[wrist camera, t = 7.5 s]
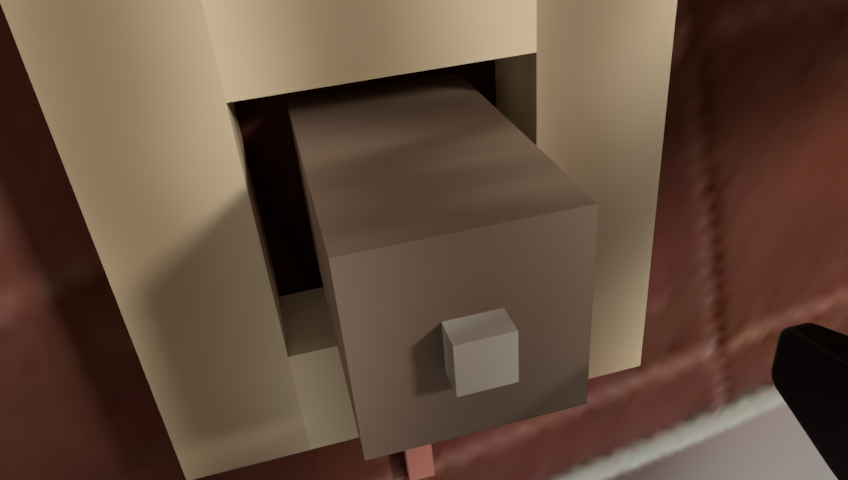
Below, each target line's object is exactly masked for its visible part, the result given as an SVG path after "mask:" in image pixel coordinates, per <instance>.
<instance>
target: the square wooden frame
mask: <svg viewBox="0 0 848 480" xmlns="http://www.w3.org/2000/svg"><path fill="white" fill-rule="evenodd" d="M0 4H1V6H2V9H3V11H4V14H5V16H6V19H7V22H8V24H9V27H10V29H11V32H12V34H13V37H14V40H15V42H16V45H17V47H18V50H19V52H20V55H21V57H22V60H23V63H24V65H25V68H26V70H27V73H28V75H29V78H30V81H31V83H32V86H33V88H34V91H35V93H36V96H37V98H38V101H39V104H40V106H41V109H42V111H43V114H44V116H45V119H46V122H47V124H48V127H49V129H50V132H51V134H52V137H53V139H54V142H55V145H56V147H57V150H58V152H59V155H60V157H61V160H62V163H63V165H64V168H65V170H66V173H67V175H68V178H69V181H70V183H71V186H72V188H73V191H74V193H75V196H76V198H77V201H78V204H79V206H80V209H81V211H82V214H83V216H84V219H85V222H86V224H87V227H88V229H89V232H90V234H91V237H92V239H93V242H94V245H95V247H96V250H97V252H98V255H99V257H100V260H101V263H102V265H103V268H104V270H105V273H106V275H107V278H108V281H109V283H110V286H111V288H112V291H113V293H114V296H115V298H116V301H117V304H118V306H119V309H120V311H121V314H122V316H123V319H124V322H125V324H126V327H127V329H128V332H129V334H130V337H131V339H132V342H133V345H134V347H135V350H136V352H137V355H138V357H139V360H140V363H141V365H142V368H143V370H144V373H145V375H146V378H147V381H148V383H149V386H150V388H151V391H152V393H153V396H154V398H155V401H156V404H157V406H158V409H159V411H160V414H161V416H162V419H163V422H164V424H165V427H166V429H167V432H168V434H169V437H170V439H171V442H172V445H173V447H174V450H175V452H176V455H177V457H178V460H179V463H180V465H181V468H182V470H183V473H184V475H185V478H186V480H194V479H198V478H202V477H206V476H210V475H213V474H217V473H221V472H225V471H229V470H233V469H237V468H241V467H245V466H249V465H253V464H257V463H260V462H264V461H268V460H272V459H276V458H280V457H284V456H288V455H292V454H296V453H300V452H304V451H308V450H311V449H315V448H319V447H323V446H327V445H331V444H335V443H339V442H343V441H347V440H351V439H355V438H359V434H358V430H357V426H356V422H355V418H354V413H353V409H352V405H351V401H350V397H349V393H348V388H347V384H346V380H345V376H344V372H343V367H342V363H341V359H340V355H339V351H338V346H337V342H336V338H335V334H334V330H333V326H332V321H331V317H330V313H329V309H328V305H327V300H326V296H325V292H324V288H323V287H321V288H316V289H312V290H307V291H302V292H298V293H293V294H288V295H284V296H280V295H279V291H278V287H277V282H276V278H275V274H274V270H273V266H272V261H271V257H270V253H269V249H268V244H267V240H266V236H265V232H264V228H263V223H262V219H261V215H260V211H259V207H258V202H257V198H256V194H255V190H254V185H253V181H252V177H251V173H250V169H249V164H248V160H247V156H246V152H245V148H244V143H243V139H242V135H241V131H240V127H239V122H238V118H237V114H236V110H235V105H234V102H235V101H242V100H248V99H254V98H260V97H266V96H272V95H278V94H285V93H291V92H297V91H303V90H309V89H315V88H321V87H328V86H334V85H340V84H346V83H352V82H358V81H364V80H370V79H377V78H383V77H389V76H395V75H401V74H407V73H413V72H420V71H426V70H432V69H438V68H444V67H450V66H456V65H463V64H469V63H475V62H481V61H487V60H493V59H495V82H496V108H497V109H498V110H499V111H500V112H501V113H502V114H503V115H504V116H505V117H506V118H507V119H508V120H509V121H510V122H512V123H513V124H514V125H515V126H516V127H517V128H518V129H519V130H520V131H521V132H522V133H523V134H524V135H525V136H527V137H528V138H529V139H530V140H531V141H532V142H533V143H534V144H535V145H536V146H537V147H538V148H539V149H540V150H542V151H543V152H544V153H545V154H546V155H547V156H548V157H549V158H550V159H551V160H552V161H553V162H554V163H555V164H557V165H558V166H559V167H560V168H561V169H562V170H563V171H564V172H565V173H566V174H567V175H568V176H569V177H570V178H572V179H573V180H574V181H575V182H576V183H577V184H578V185H579V186H580V187H581V188H582V189H583V190H584V191H585V192H587V193H588V194H589V195H590V196H591V197H592V198H593V199H594V200H595V201H596V202H597V203H598V219H597V236H596V254H595V271H594V288H593V306H592V323H591V341H590V358H589V375H588V379H590V378H594V377H598V376H602V375H606V374H609V373H613V372H617V371H621V370H625V369H629V368H633V367H637V366H640V362H641V352H642V343H643V333H644V323H645V313H646V303H647V294H648V284H649V274H650V264H651V254H652V245H653V235H654V225H655V215H656V205H657V196H658V186H659V176H660V166H661V157H662V147H663V137H664V127H665V117H666V108H667V98H668V88H669V78H670V68H671V59H672V49H673V39H674V29H675V19H676V10H677V0H0Z"/></svg>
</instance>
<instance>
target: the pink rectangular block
mask: <svg viewBox="0 0 848 480" xmlns="http://www.w3.org/2000/svg"><path fill="white" fill-rule="evenodd" d="M404 455H405V462H406V469H407V473H408V476H409V479H410V480H418V479H422V478H426V477H429V476H433V475H435V473H434V464H433V455H432V446H431V444H428V445H425V446H421V447H417V448H413V449H409V450H405V451H404Z"/></svg>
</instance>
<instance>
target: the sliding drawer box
mask: <svg viewBox="0 0 848 480" xmlns="http://www.w3.org/2000/svg"><path fill="white" fill-rule="evenodd" d="M286 103H287V108H288V113H289V119H290V124H291V129H292V134H293V139H294V145H295V150H296V155H297V160H298V166H299V171H300V176H301V181H302V187H303V192H304V197H305V202H306V208H307V213H308V218H309V223H310V229H311V234H312V239H313V244H314V250H315V254H316V259H317V263H318V267H319V271H320V275H321V280H322V284H323V288H324V292H325V296H326V300H327V305H328V309H329V313H330V317H331V321H332V326H333V330H334V334H335V338H336V342H337V346H338V351H339V355H340V359H341V363H342V367H343V372H344V376H345V380H346V384H347V388H348V393H349V397H350V401H351V405H352V409H353V413H354V418H355V422H356V426H357V430H358V434H359V439H360V443H361V447H362V451H363V455H364V459H365V461H367V460H370V459H374V458H378V457H382V456H386V455H390V454H394V453H398V452H401V451H405V450H409V449H413V448H417V447H421V446H425V445H428V444H432V443H436V442H440V441H444V440H448V439H452V438H456V437H459V436H463V435H467V434H471V433H475V432H479V431H483V430H486V429H490V428H494V427H498V426H502V425H506V424H510V423H514V422H517V421H521V420H525V419H529V418H533V417H537V416H541V415H544V414H548V413H552V412H556V411H560V410H564V409H568V408H572V407H575V406H579V405H583V404H587V393H588V375H589V358H590V341H591V323H592V306H593V288H594V271H595V254H596V236H597V219H598V203H597V202H596V201H595V200H594V199H593V198H592V197H591V196H590V195H589V194H588V193H587V192H585V191H584V190H583V189H582V188H581V187H580V186H579V185H578V184H577V183H576V182H575V181H574V180H573V179H572V178H570V177H569V176H568V175H567V174H566V173H565V172H564V171H563V170H562V169H561V168H560V167H559V166H558V165H557V164H555V163H554V162H553V161H552V160H551V159H550V158H549V157H548V156H547V155H546V154H545V153H544V152H543V151H542V150H540V149H539V148H538V147H537V146H536V145H535V144H534V143H533V142H532V141H531V140H530V139H529V138H528V137H527V136H525V135H524V134H523V133H522V132H521V131H520V130H519V129H518V128H517V127H516V126H515V125H514V124H513V123H512V122H510V121H509V120H508V119H507V118H506V117H505V116H504V115H503V114H502V113H501V112H500V111H499V110H498V109H497V108H495V107H494V106H493V105H492V104H491V103H490V102H489V101H488V100H487V99H486V98H485V97H484V96H483V95H482V94H480V93H479V92H478V91H477V90H476V89H475V88H474V87H473V86H472V85H471V84H470V83H469V82H468V81H467V80H465V79H464V78H463V77H462V76H461V75H460V74H459V73H453V74H446V75H440V76H434V77H428V78H421V79H415V80H409V81H403V82H396V83H390V84H384V85H378V86H371V87H365V88H359V89H352V90H346V91H340V92H334V93H327V94H321V95H315V96H309V97H302V98H296V99H290V100H286Z"/></svg>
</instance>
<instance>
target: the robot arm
mask: <svg viewBox="0 0 848 480" xmlns="http://www.w3.org/2000/svg"><path fill="white" fill-rule="evenodd" d="M771 375H772V380H773V382H774V385H775V387H776V389H777V390H778V392H779V393H780V395H781V396H782V398H783V399H784V401H785V402H786V404H787V405H788V407H789V408H790V410H791V411H792V412H793V414H794V416H795V417H796V418H797V420H798V421H799V423H800V425H801V426H802V428H803V429H804V431H805V432H806V433H807V435H808V437H809V438H810V439H811V441H812V443H813V444H814V445H815V447H816V448H817V450H818V451H819V453H820V454H821V456H822V457H823V459H824V460H825V462H826V463H827V465H828V466H829V467H830V469H831V470H832V472H833V473H834V475H835V476H836V477H837V479H838V480H848V336H847V335H844V334H842V333H839V332H836V331H833V330H831V329H828V328H825V327H822V326H819V325H817V324H813V323H804V324H800V325H796V326H792V327H788V328H786V329H784V330H783V331H782V332H781V333H780V335H779V338H778V343H777V347H776V351H775V356H774V360H773V364H772V369H771Z"/></svg>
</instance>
